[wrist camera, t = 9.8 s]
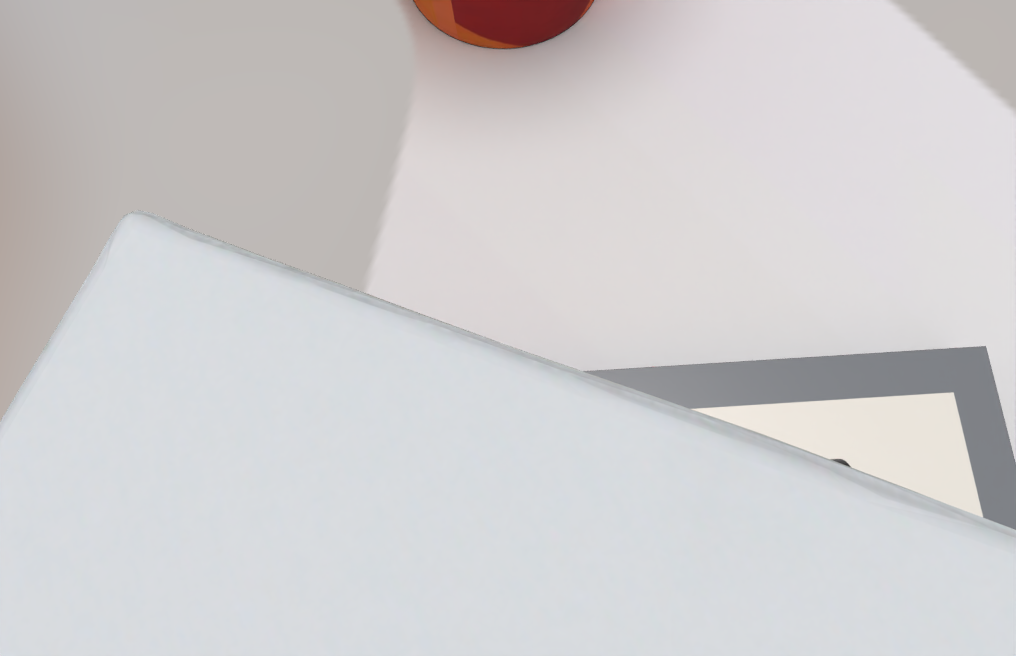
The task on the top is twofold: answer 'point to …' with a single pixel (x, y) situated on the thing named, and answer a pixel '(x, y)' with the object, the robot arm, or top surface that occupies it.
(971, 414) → the picture frame
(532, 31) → the paper cup
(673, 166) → the top surface
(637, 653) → the skincare box
